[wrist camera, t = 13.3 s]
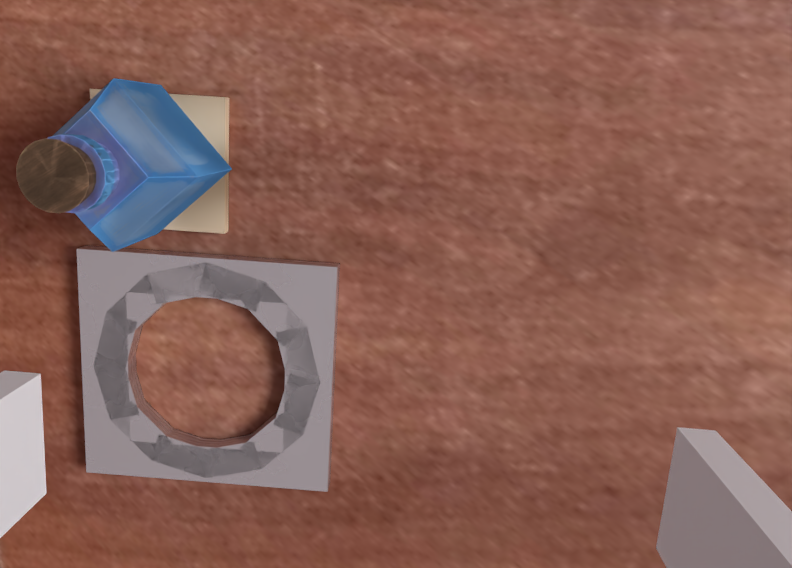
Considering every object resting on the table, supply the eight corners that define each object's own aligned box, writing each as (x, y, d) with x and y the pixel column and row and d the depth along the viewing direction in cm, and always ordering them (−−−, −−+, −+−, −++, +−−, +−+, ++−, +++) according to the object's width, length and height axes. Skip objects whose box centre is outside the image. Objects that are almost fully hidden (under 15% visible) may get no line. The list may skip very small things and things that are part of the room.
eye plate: (86, 245, 43) (76, 248, 42) (339, 263, 43) (337, 267, 42) (94, 463, 47) (86, 472, 46) (329, 482, 46) (327, 491, 45)
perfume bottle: (157, 233, 42) (53, 276, 30) (86, 153, 41) (-49, 165, 29) (232, 168, 41) (153, 187, 29) (160, 85, 40) (50, 69, 28)
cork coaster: (96, 89, 41) (89, 88, 40) (229, 97, 41) (225, 97, 40) (100, 222, 43) (94, 224, 42) (228, 231, 43) (224, 233, 42)
